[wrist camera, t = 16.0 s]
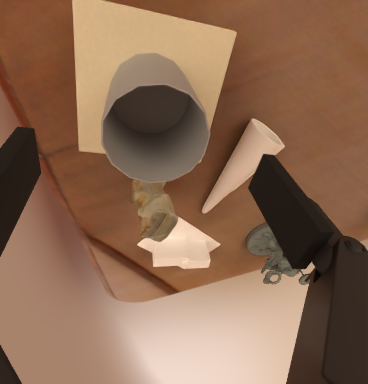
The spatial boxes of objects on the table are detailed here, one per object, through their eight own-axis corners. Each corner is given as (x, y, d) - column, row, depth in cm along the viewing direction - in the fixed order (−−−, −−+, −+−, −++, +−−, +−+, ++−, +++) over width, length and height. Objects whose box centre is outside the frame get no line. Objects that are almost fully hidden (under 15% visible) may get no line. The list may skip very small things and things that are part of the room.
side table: (86, -9, 28) (71, -7, 22) (216, 22, 32) (237, 32, 25) (88, 122, 37) (78, 151, 30) (190, 135, 40) (200, 163, 34)
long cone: (176, 193, 49) (246, 112, 39) (202, 202, 53) (273, 129, 42) (181, 217, 46) (260, 134, 35) (209, 225, 49) (289, 151, 38)
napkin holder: (136, 245, 54) (136, 268, 50) (173, 213, 50) (177, 235, 46) (185, 269, 62) (189, 291, 58) (221, 243, 58) (228, 265, 54)
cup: (189, 51, 26) (213, 79, 18) (189, 128, 31) (208, 177, 23) (102, 55, 25) (87, 87, 17) (117, 134, 30) (111, 187, 22)
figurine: (262, 217, 54) (288, 264, 45) (300, 225, 58) (332, 271, 49) (237, 249, 60) (256, 297, 51) (274, 255, 64) (297, 301, 55)
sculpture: (176, 159, 43) (192, 224, 31) (153, 189, 46) (159, 258, 34) (146, 142, 40) (151, 206, 28) (123, 175, 43) (119, 245, 31)
